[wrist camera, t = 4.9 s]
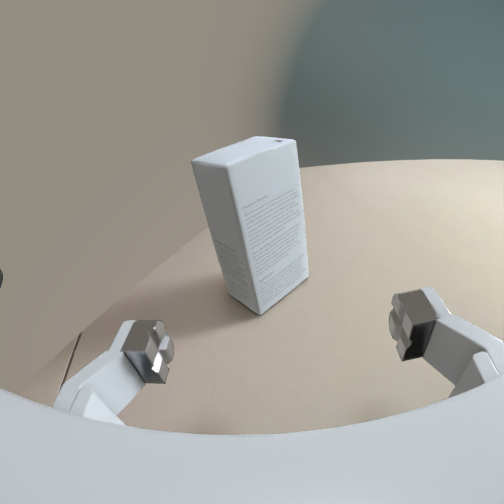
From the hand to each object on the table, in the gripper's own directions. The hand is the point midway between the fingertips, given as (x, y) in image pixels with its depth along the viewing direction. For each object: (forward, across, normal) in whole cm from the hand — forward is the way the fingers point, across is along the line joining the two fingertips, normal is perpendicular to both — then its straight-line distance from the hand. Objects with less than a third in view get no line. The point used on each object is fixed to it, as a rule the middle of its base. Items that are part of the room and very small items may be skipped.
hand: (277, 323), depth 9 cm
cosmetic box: (+13, +1, +8) cm, 15 cm away
